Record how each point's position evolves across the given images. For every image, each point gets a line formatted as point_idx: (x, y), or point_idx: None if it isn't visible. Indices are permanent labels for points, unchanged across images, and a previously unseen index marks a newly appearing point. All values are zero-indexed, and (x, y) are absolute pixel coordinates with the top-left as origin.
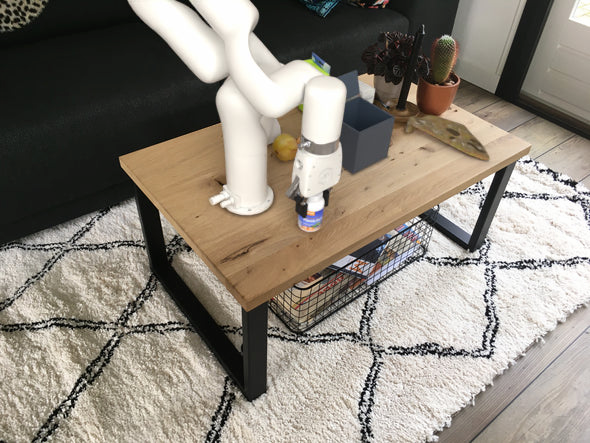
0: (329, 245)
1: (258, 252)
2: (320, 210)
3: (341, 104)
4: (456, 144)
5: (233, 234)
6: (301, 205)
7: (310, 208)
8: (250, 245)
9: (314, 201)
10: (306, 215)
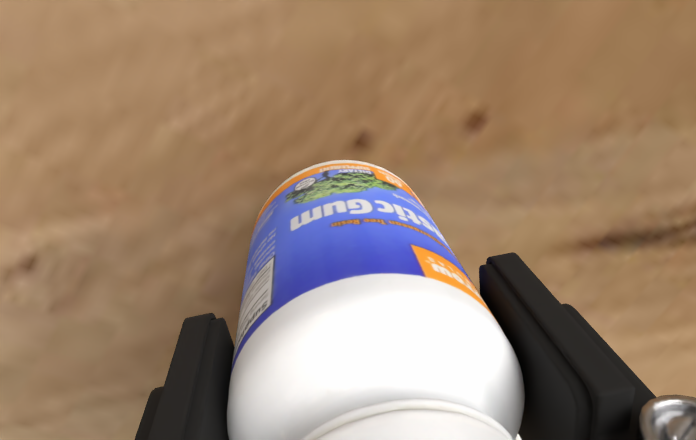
0: (277, 17)
1: (685, 175)
2: (347, 273)
3: None
4: None
5: (678, 329)
6: (644, 402)
7: (489, 330)
8: (676, 237)
9: (464, 417)
10: (502, 270)
